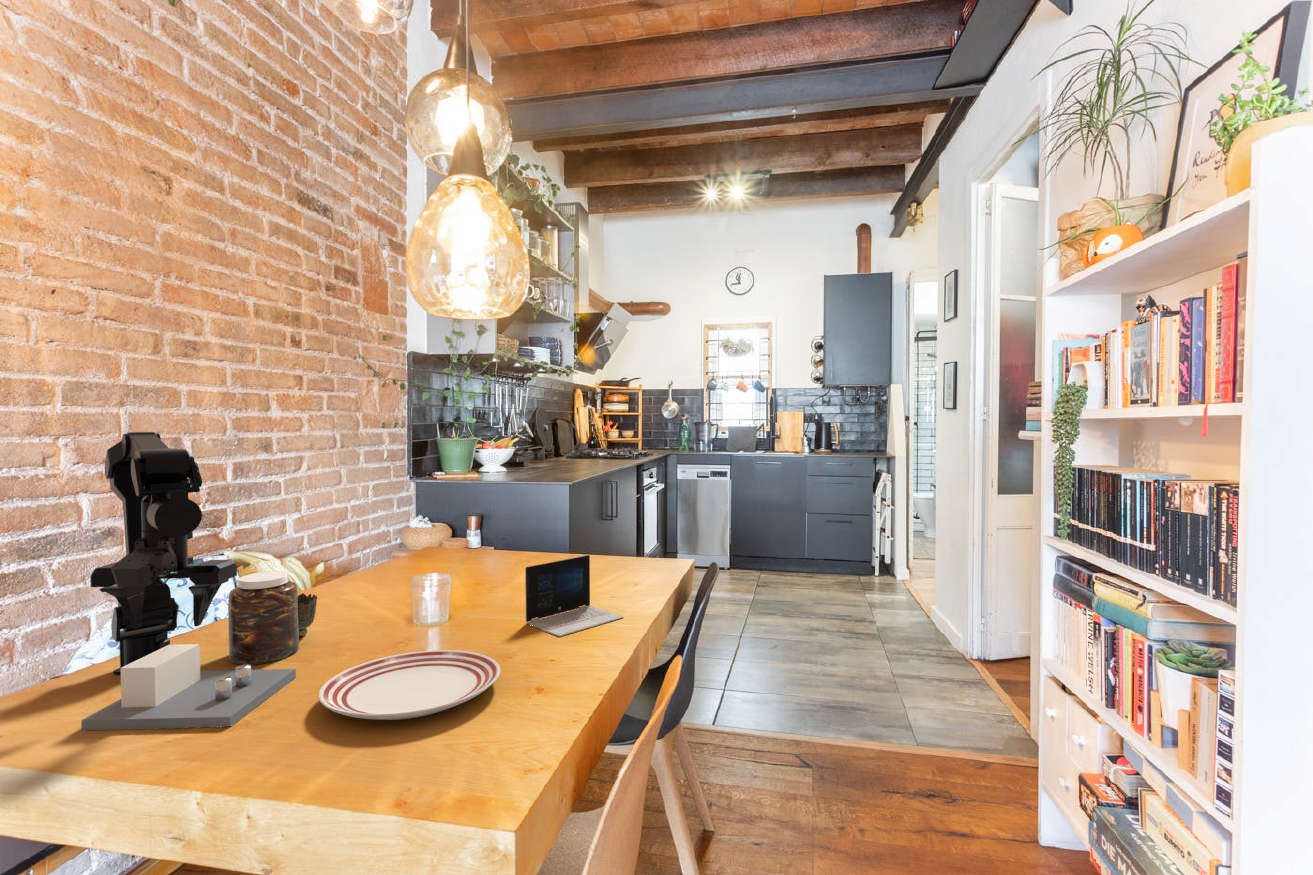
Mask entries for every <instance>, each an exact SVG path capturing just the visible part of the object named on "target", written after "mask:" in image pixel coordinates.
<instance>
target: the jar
mask: <svg viewBox="0 0 1313 875" xmlns="http://www.w3.org/2000/svg"><path fill="white" fill-rule="evenodd" d="M288 575H289V574H288V573H287V572H285V571H277V570H275V571H261V572H255V573H250V574H246V575H243V576H240V577H239V578H238V581H237V582H238V583H237V584H238V585H237V587H234V588H233V589H231V590H230V592H229V593H228V604H227V606H228V607H227V608H228V609H227V610H228V614H227V616H228V617H227V618H228V619H227V621H228V656H229V658H228V659H229V662H231V663H232V664H235V665H239V666H240V665H244V664H250V665H251V666H255V665H262V664H263V665H264V664H267V663H272V662H278V661H280V660H283V659H285V658H288V657H290V656H292V655H294V654H295V653H297V652H298V651H299V649H300V637H299V616H298V596H299V595H298V586H297V584H296V582H293V581H290V580H289V579H288V578H289V576H288Z"/></svg>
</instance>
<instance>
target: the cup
mask: <svg viewBox="0 0 1313 875" xmlns="http://www.w3.org/2000/svg"><path fill="white" fill-rule="evenodd" d="M317 601H318V596H317V594H311V593H310V594H308V595H307V594H306V593H304V592H303V593H299V595H298V616H299V638H302V637H303V638H304V636H306V635H307V634H308V630H309V629H308V627H310V626H311V625H312V624H313V623H314V620H315V618H316V610H317V603H318V602H317Z"/></svg>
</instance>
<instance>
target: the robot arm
mask: <svg viewBox="0 0 1313 875" xmlns="http://www.w3.org/2000/svg"><path fill="white" fill-rule="evenodd" d="M104 476H105V479H106V480H109V487H110V490H111V491H112V493H113V494H114V495H115V496H116V497H118V499H119V500H120V501H121V502H122V509H123V510H122V511H123V527H124V528H123V529H124V541H125V542H124V543H125V544H124V545H125V555H124V557H122V558H121V559H120V560H118V561H115V562H113V563H109V564H106V565H102V566H98V567H96V568H94V570H93V571H92V573H90V577H89V580H90V581H89V582H90V583H89V584H90V585H89V586H90V587H91V588H99V591H100V592H101V593H107V594H109V595H110V596H112V597H114V598H115V599H116V600H117V606H115V607H114V608H113V613H112V619H111V624H110V625H111V626H110V628H111V636H112V637H111V638H113V641H115V643H119V668H116V669H114V670H113V671H112V674H113V675H115V674H116V675H121V668H122V667H124V666H126V665H128V664H130V663H132V662H134V661H136V660H138V659H140V658H142V657H144V656H146V655H149V654H151V653H153V652H155V651H157V650H159V649H161V648H163V647H165V646H167V645H171V639H170V638H169V636H168V635H169V634H168V632H175V629H176V628H178V614H179V610H180V605H179V604H178V603H177V602H176V600H175V597H172V595H171V588H170V586H169V585H168V584H167V583H165V582H164V581H163V580H164V579H165V580H167V579H168V580H169V579H189V581H190V582H192V583H193V585H190V586H188V590H189V592H190V593H191V594H192V596H193V597H192V605H193V606H192V608H193V611H192V614H193V616H192V618H193V619H192V620H193V626H194V627H199V626H201V625H202V623H203V622H204V619H205V617H206V614H207V612H208V610H209V608H210V606H211V604H212V601H213V600H214V598H215V596H216V594H217V592H218V591H219V589H220V588H221V587H222V585H223V584H225V583H228V582H229V580H230V579H232V578H234V577H237V576H238V565H237V564H236V563H235V562H234V560H233V559H209V560H206V561H203V562H201V563H198V564H197V563H196V564H195V565H192V564H194V556H189V551H188V550H189V547H188V545H189V544H188V543H189V541H188V540H190V539H193V537H194V534H193V533H194V531H195V530H196V529H197V528H199V526H200V524H201V521H202V519H203V518H202V517H203V512H202V510H201V508H200V506H199V505H198V504H197V502H195V501H194V500H192V499H189V494H191V493H200V492H201V487H202V485H203V479H202V476H201V472H200V468H199V465H198V462H196V461H195V457H194V456H192V455H191V456H190V453H189V452H188V450H187V449H184V448H170V447H168V446H167V444H165V442H164V441H163V440H162V439H161V434H160V433H157V432H155V431H137V432H136V431H135V432H134V431H129V432H127V433H123V434H122V438H121V440H120V441H119V442H117V443H116V444H114V445H113V446H111V447H110V448H108V449H107V450H106V455H105V459H104Z"/></svg>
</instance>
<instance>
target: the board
mask: <svg viewBox="0 0 1313 875" xmlns="http://www.w3.org/2000/svg"><path fill="white" fill-rule="evenodd" d="M226 676H230V677H232V698H230V699H228V700H225V701H215V680H216V679H218V678H221V677H226ZM296 676H297V670H296V668H279V669H278V668H277V669H271V668H270V669H267V668H265V669H251V685H249V686H247V687H242V688H237V687H235V669H233V670H232V669H231V670H230V669H226V670H225V669H224V670H223V669H222V670H221V669H220V670H219V669H217V670H200V680H199V681H198V682H196V683H194V684H193V685H191V686H189V687H188V688H186V689H184V690H183V691H181V692H179V693H178V694H176V695H174V696H173V697H171V698H169V699H168V700H166V701H164V702H163V703H161V704H159V705H158V706H156V707H121V698H120V699H118V700H116V701H114V702H113V703H110V704H109V705H107V706H105V707H103V708H102V709H99V710H97V711H95V712H94V713H92V714H90V715H88V716H87V717H85V718H82V719H80V721H81V731H102V730H103V731H110V730H111V731H115V730H121V729H122V730H152V729H151V728H166V729H184V728H183V727H210V728H225V727H224V726H231V725H233V724H234V725H235V724H237V723H238V722H239V721H241V720H242V719H243V718H244V717H245V716H244V715H246V714H247V713H248V712H250V711H251V710H252V711H254V710H255V709H256V708H258V707H259V706H260V705H262V704H263V703H264V702H266V701H267V700H268V699H269V698H271V697H272V696H273V695H275V694H276V693H277V692H278V691H280V690H281V689H282V688H284V687H285V686H286V685H288V684H289V683H290V682H292V681H293V680H294V679H296V678H297V677H296ZM271 695H272V696H271ZM270 696H271V697H270ZM267 698H268V699H267ZM266 699H267V700H266ZM265 700H266V701H265ZM262 702H263V703H262ZM261 703H262V704H261ZM258 705H259V706H258ZM257 706H258V707H257ZM252 711H251V712H252ZM251 712H250V713H251ZM248 714H249V713H248ZM248 714H247V715H248ZM247 715H246V716H247ZM243 716H244V717H243ZM242 717H243V718H242ZM241 718H242V719H241ZM240 719H241V720H240ZM237 721H238V722H237ZM236 722H237V723H236ZM234 725H233V726H234ZM217 726H218V727H217ZM220 726H222V727H220ZM231 727H232V726H231Z"/></svg>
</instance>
